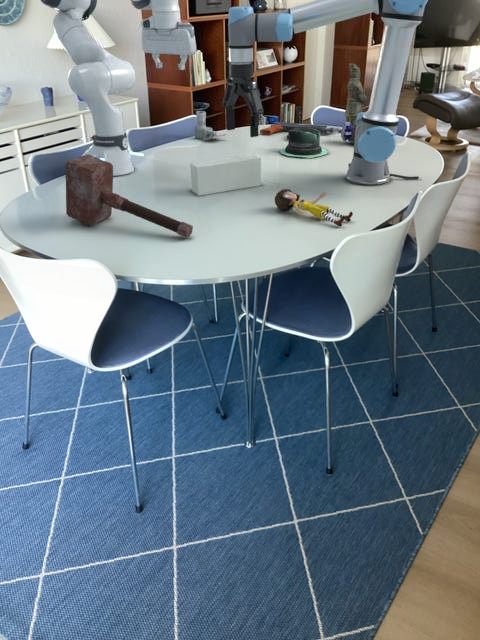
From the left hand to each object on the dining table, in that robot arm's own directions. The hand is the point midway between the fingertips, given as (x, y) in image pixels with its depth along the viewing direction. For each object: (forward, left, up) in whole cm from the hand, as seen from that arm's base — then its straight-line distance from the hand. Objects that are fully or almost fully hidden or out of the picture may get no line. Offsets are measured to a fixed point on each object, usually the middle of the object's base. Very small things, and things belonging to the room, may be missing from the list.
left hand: (170, 68), depth 185 cm
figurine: (+55, -25, -38) cm, 71 cm away
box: (+21, -5, -38) cm, 43 cm away
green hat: (+35, +51, -38) cm, 72 cm away
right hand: (+26, -4, -19) cm, 32 cm away
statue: (+49, +98, -38) cm, 116 cm away
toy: (+54, +71, -38) cm, 97 cm away
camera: (-14, +64, -38) cm, 76 cm away
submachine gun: (+23, +83, -38) cm, 94 cm away
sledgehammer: (+7, -49, -38) cm, 62 cm away
